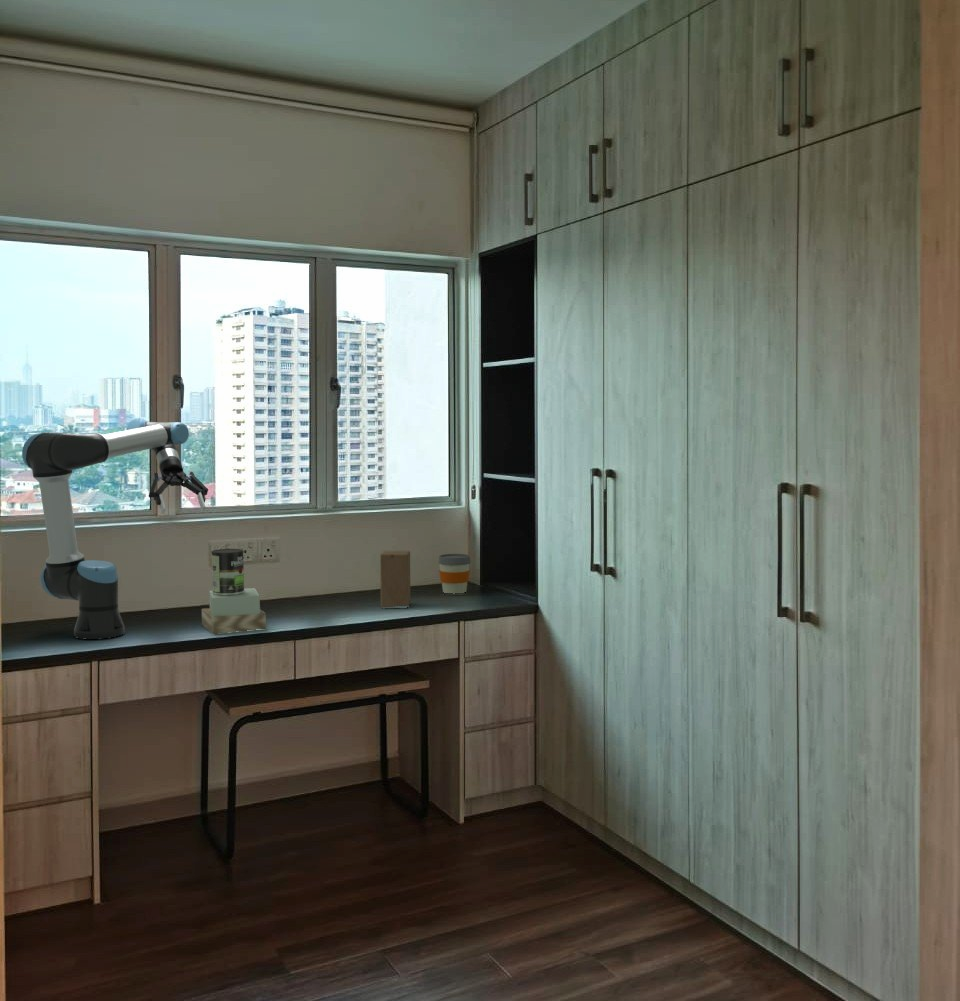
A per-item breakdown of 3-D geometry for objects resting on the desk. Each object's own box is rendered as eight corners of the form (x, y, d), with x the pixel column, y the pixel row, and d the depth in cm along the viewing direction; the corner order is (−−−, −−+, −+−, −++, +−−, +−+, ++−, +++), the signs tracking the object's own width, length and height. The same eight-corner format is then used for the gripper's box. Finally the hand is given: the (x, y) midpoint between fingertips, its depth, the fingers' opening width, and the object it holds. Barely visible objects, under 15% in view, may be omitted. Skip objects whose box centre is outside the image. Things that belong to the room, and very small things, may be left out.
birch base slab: (213, 636, 324) (213, 617, 323) (202, 626, 339) (201, 608, 338) (266, 631, 331) (265, 612, 331) (252, 621, 346) (251, 604, 346)
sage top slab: (212, 616, 325) (212, 598, 324) (209, 608, 339) (209, 590, 339) (259, 613, 330) (259, 595, 329) (255, 605, 344) (254, 588, 343)
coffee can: (250, 591, 337) (249, 549, 335) (231, 596, 327) (230, 553, 326) (225, 589, 341) (224, 547, 339) (205, 594, 331) (204, 551, 330)
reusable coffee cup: (438, 591, 404) (438, 553, 403) (469, 590, 405) (469, 553, 403) (439, 596, 391) (438, 558, 390) (471, 596, 392) (471, 558, 391)
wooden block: (408, 608, 367) (407, 554, 365) (380, 608, 367) (380, 554, 365) (410, 603, 377) (410, 550, 375) (383, 603, 377) (383, 550, 375)
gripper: (202, 470, 366) (217, 515, 354) (131, 472, 352) (145, 519, 341) (206, 456, 361) (222, 501, 350) (135, 457, 347) (149, 504, 336)
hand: (184, 510), depth 345 cm, fingers open, 13 cm apart
